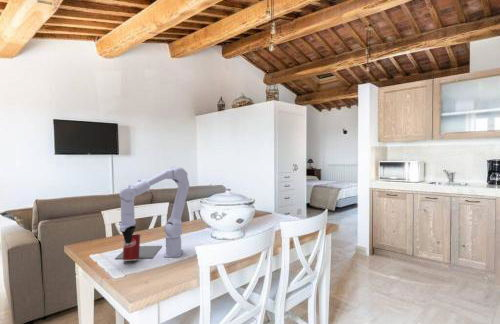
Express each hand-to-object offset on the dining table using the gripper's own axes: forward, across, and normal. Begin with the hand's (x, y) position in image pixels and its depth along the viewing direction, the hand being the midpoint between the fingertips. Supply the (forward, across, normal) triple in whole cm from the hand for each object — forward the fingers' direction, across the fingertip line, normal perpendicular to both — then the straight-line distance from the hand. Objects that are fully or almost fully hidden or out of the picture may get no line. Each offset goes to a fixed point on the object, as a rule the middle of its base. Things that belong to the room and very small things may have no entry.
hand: (128, 242), depth 135 cm
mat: (+10, -15, 0) cm, 18 cm away
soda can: (+9, -2, 0) cm, 9 cm away
